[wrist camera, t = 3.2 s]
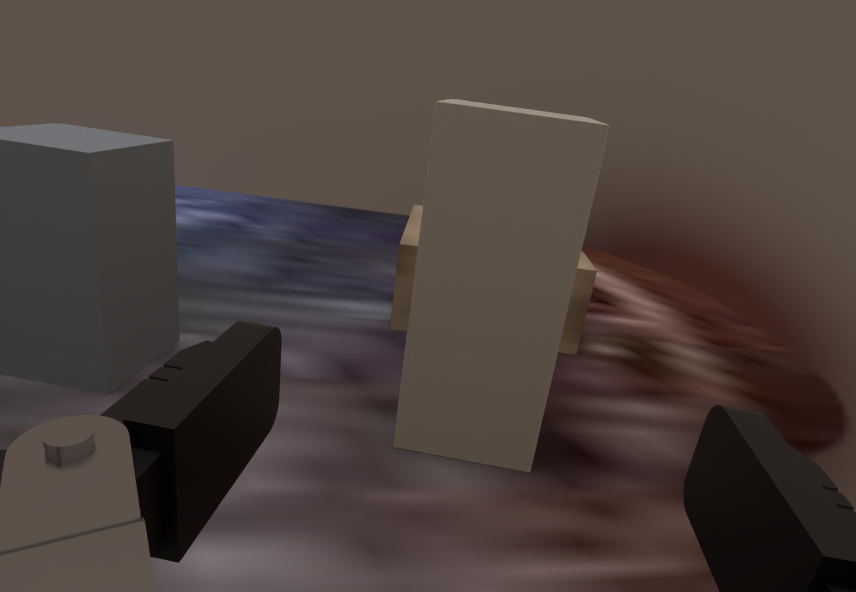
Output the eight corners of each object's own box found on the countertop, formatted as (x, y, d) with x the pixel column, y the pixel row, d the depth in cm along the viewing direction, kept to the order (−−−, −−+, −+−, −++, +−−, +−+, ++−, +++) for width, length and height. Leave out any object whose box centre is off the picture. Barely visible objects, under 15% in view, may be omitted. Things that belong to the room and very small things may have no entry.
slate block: (-14, 371, 22) (-54, 131, 19) (77, 322, 27) (58, 123, 24) (108, 394, 22) (89, 153, 18) (179, 340, 26) (173, 140, 23)
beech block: (389, 333, 30) (399, 243, 29) (405, 275, 40) (414, 204, 38) (575, 359, 30) (596, 270, 29) (547, 294, 40) (562, 225, 38)
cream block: (393, 447, 21) (435, 101, 17) (414, 381, 25) (451, 98, 21) (530, 472, 20) (610, 125, 16) (525, 401, 25) (587, 117, 21)
